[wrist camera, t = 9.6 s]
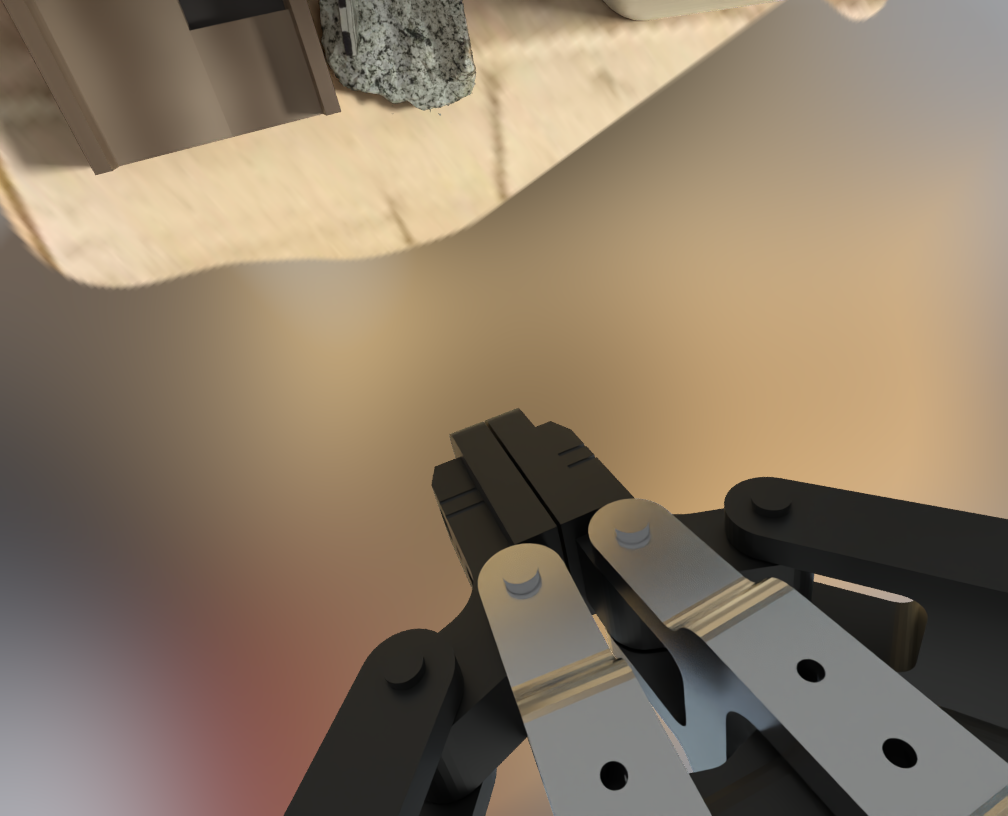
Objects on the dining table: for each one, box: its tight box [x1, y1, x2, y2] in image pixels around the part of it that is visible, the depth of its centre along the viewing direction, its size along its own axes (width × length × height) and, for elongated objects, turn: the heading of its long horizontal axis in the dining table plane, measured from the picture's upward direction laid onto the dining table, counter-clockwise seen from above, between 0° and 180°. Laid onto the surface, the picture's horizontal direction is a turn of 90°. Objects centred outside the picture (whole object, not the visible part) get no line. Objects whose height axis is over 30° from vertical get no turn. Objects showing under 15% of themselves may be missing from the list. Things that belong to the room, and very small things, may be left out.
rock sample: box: [319, 0, 476, 115], centre depth 33 cm, size 10×8×9 cm
